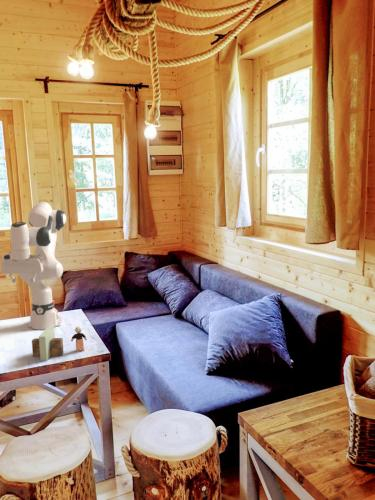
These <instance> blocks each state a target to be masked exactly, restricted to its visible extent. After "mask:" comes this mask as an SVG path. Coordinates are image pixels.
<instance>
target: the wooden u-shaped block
mask: <svg viewBox="0 0 375 500" xmlns="http://www.w3.org/2000/svg"><path fill="white" fill-rule="evenodd" d="M31 348H32V357H40V346H39V337H38V338H37V337H36V338H33V339H32V340H31ZM64 354H65V353H64V340H63V337H55V338H52V340H51V348H50V357H61V356H63V355H64Z"/></svg>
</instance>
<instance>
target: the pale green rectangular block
mask: <svg viewBox="0 0 375 500" xmlns="http://www.w3.org/2000/svg"><path fill="white" fill-rule="evenodd" d="M55 335H56V334H55V327H47V328H46V329H44V330H43V332H42V333H40V335H39V336H38V338H39V346H40V356H39V357H40V362H47V361H48V360H49V359H50V358H51V356H50V348H51V340H52V338H56V336H55Z"/></svg>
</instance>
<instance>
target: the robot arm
mask: <svg viewBox="0 0 375 500" xmlns="http://www.w3.org/2000/svg"><path fill="white" fill-rule="evenodd" d="M27 218H28V224H29V225H30V226H31V227H29V226H28V224H27V222H24V221H18V222H14V223H12V224H11V225H10V229H9V230H10V231H9V232H10V233H9V237H10V243H11V249H10V252H7V253H6V254H3V255H2V256H1V260H2V261H1V262H0V272H1V274H3V275H8V276H9V278H10V279H11V282H12V283H16V282H17V278H16V277H14V275H18V277H19V278H20V279H21V280H23V281H24V282H25V283H26V284H27V285H28V287H29V289H30V292H31V300H32V304H31V309H32V311H31V312H30V319H29V321H30V322H29V324H28V325H27V326H28V327H29V328H31V329H33V330H37V331H38V330H40V331H41V330H46V328H47V327H54V328H56V327H59V326H61V324H62V322H63V316H59V310H58V309H56V308H55V300H54V299H53V290H52V288H51V287H50V286H49V285H46V284H45V283H44V282H43V281H46V280H49V281H50V280H57V279H59V278H61V277H62V276H63V273H64V267H63V264H62V263H61V262H60V261H59V260H58V259H57V258H56V255H55V252H56V246H57V241H58V233H57V231H58V232H59V231H60V230H61V229H63V228H64V227H65V225H66V222H67V214H66V213H65V211H63V210H61V209H58V210H57V209H53V208H52V205H51V204H50V203H49V202H46V201H41V202H38V203H36V204H35V205H34V206H33V207H32V208H31V210H30V211H29V213H28V217H27ZM31 247H35V249H34V253H35V254H32V253H31Z"/></svg>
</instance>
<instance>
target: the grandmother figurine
mask: <svg viewBox="0 0 375 500" xmlns="http://www.w3.org/2000/svg"><path fill="white" fill-rule="evenodd" d="M82 329H83V328H82V327H81V326H80V325H77V326H76V327H75V328H74V332H75V334H73V335H72V337H71V340H70V341H71V342H74V340H75V349H76V350H75V351H76V352H77V353H79V352H84V351H86V348H85V343H84V340H85V341H88V338H87V336H86V335H85V334H84V333H82Z"/></svg>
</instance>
